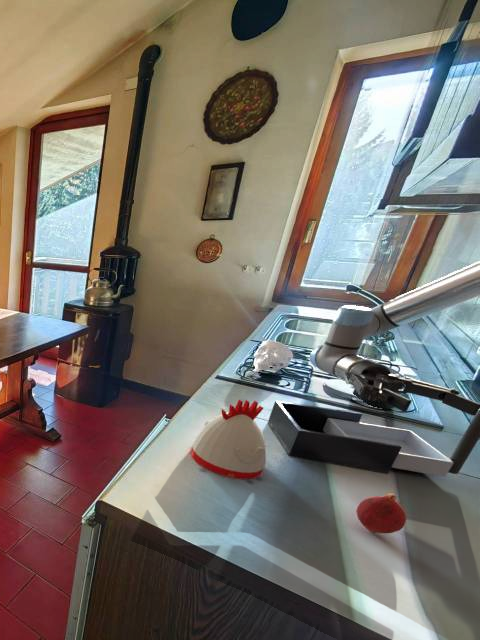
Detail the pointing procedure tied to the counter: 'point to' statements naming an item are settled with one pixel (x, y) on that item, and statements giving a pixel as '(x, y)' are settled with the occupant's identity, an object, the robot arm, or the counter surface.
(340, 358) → the robot arm
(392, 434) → the white boxy piece
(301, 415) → the black open box
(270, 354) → the pale pink rounded lump
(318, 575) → the counter surface
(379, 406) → the mug
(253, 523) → the counter surface
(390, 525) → the onion
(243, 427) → the kitchen timer
